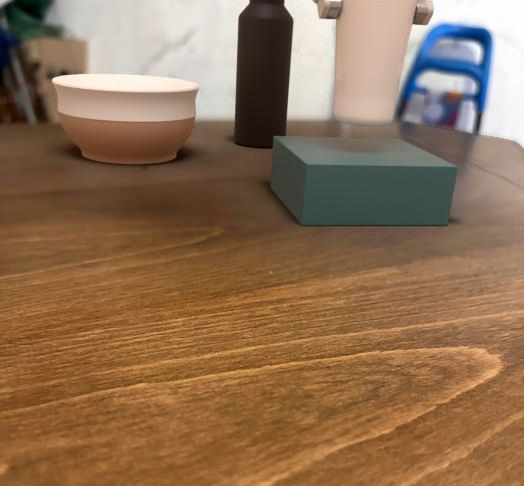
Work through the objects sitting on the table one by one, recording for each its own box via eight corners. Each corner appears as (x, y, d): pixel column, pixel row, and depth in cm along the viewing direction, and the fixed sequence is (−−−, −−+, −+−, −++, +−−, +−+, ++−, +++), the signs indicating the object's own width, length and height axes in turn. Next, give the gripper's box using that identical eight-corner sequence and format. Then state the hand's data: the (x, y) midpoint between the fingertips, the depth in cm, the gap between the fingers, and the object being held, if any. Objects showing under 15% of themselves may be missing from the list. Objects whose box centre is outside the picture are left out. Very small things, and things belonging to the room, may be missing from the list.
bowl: (67, 171, 68) (61, 88, 64) (50, 142, 81) (43, 72, 77) (217, 167, 73) (219, 90, 70) (178, 141, 87) (177, 75, 83)
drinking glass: (408, 123, 60) (438, -73, 53) (389, 132, 55) (419, -85, 48) (337, 114, 63) (357, -74, 56) (312, 122, 57) (330, -86, 50)
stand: (393, 189, 69) (400, 139, 67) (447, 225, 57) (458, 166, 55) (270, 187, 66) (273, 135, 64) (301, 225, 55) (306, 163, 53)
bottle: (226, 144, 86) (231, -34, 77) (244, 137, 92) (251, -29, 83) (276, 150, 85) (287, -31, 76) (291, 142, 90) (303, -27, 81)
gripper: (242, -161, 53) (258, -26, 49) (477, -134, 57) (510, -7, 53) (232, -88, 59) (245, 38, 55) (445, -68, 63) (473, 51, 59)
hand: (377, 16), depth 54 cm, fingers closed on drinking glass, 6 cm apart
